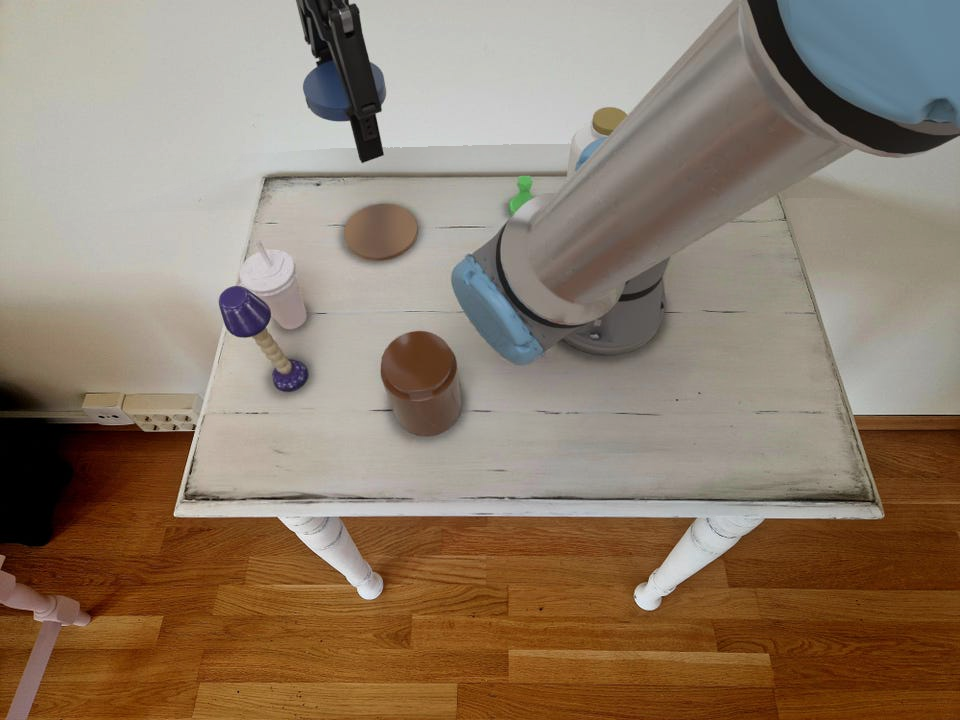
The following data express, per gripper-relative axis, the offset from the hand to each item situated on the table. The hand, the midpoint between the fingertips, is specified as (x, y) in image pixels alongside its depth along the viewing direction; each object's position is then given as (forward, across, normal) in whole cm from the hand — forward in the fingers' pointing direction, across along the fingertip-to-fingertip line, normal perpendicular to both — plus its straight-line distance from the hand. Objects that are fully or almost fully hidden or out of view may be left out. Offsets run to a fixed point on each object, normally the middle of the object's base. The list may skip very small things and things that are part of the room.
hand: (356, 133), depth 67 cm
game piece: (+17, +6, +20) cm, 27 cm away
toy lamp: (+17, +16, -19) cm, 30 cm away
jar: (+17, +28, -6) cm, 33 cm away
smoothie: (+17, +8, -16) cm, 25 cm away
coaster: (+17, 0, 0) cm, 17 cm away
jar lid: (-6, 0, 0) cm, 6 cm away
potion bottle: (+17, +14, +26) cm, 34 cm away
